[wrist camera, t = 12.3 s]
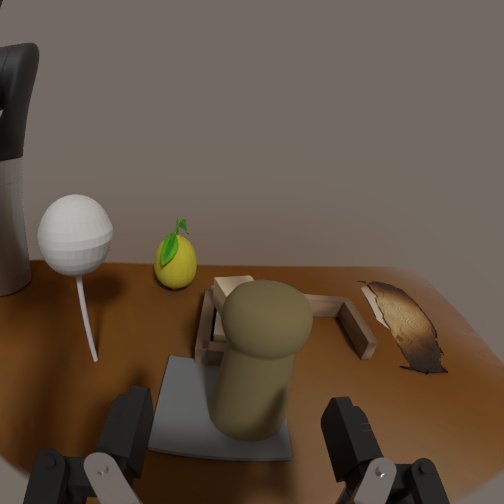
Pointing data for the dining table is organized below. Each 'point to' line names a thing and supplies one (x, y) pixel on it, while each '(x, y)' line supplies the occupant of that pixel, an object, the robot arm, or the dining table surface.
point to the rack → (320, 307)
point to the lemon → (175, 260)
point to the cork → (258, 358)
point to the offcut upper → (226, 289)
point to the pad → (203, 420)
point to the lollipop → (75, 242)
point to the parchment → (406, 326)
